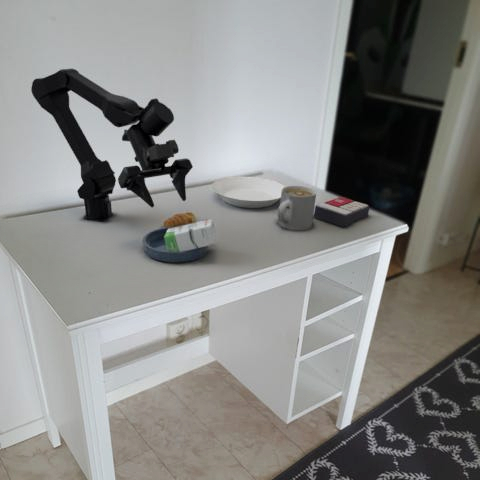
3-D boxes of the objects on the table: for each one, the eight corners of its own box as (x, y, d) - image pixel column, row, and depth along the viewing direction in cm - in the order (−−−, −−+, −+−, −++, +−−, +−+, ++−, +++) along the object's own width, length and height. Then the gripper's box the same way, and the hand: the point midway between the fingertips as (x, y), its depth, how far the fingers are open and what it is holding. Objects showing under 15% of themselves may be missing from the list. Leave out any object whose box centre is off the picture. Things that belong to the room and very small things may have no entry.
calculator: (370, 204, 153) (346, 213, 143) (367, 217, 156) (343, 227, 145) (340, 195, 159) (315, 203, 149) (338, 208, 161) (313, 217, 151)
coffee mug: (295, 215, 152) (299, 183, 147) (318, 226, 146) (323, 193, 140) (262, 223, 145) (265, 190, 139) (285, 235, 138) (289, 201, 133)
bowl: (277, 216, 150) (278, 205, 148) (200, 204, 155) (200, 193, 153) (292, 192, 171) (294, 182, 169) (224, 182, 176) (224, 172, 174)
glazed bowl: (134, 259, 120) (133, 247, 119) (156, 234, 134) (155, 223, 132) (198, 267, 118) (198, 256, 117) (213, 241, 132) (214, 231, 130)
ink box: (168, 255, 119) (216, 245, 118) (163, 236, 117) (210, 225, 116) (173, 246, 127) (217, 236, 126) (167, 228, 125) (212, 217, 124)
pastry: (171, 235, 134) (170, 221, 132) (158, 227, 138) (157, 214, 136) (199, 228, 139) (199, 215, 137) (186, 220, 144) (186, 208, 142)
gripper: (119, 131, 111) (146, 193, 110) (188, 125, 121) (213, 181, 120) (107, 158, 120) (131, 216, 119) (172, 150, 130) (195, 203, 129)
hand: (169, 203), depth 122 cm, fingers open, 9 cm apart
